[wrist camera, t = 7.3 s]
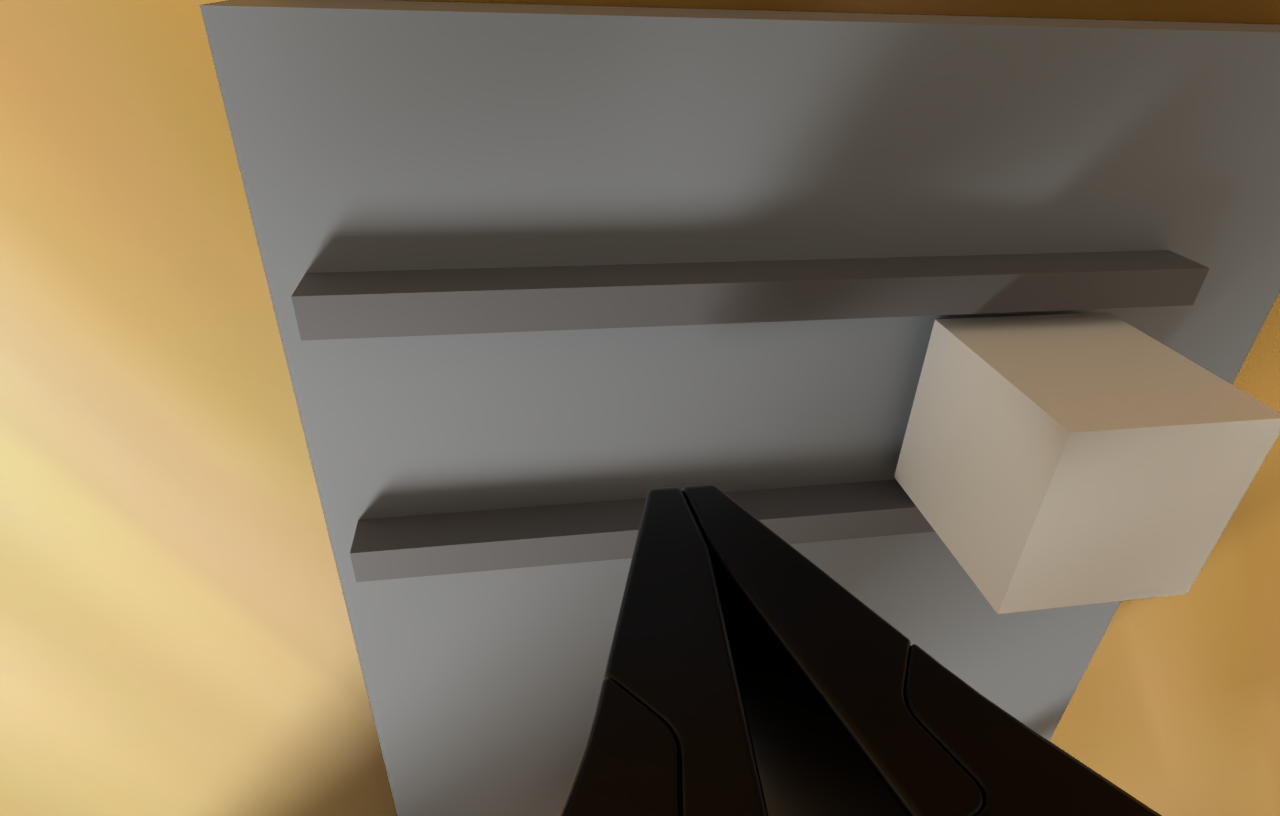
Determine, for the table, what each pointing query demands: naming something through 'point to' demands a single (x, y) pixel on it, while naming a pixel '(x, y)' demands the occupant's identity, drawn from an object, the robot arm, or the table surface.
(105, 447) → the table surface
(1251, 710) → the table surface
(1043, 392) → the slider
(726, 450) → the switch panel
